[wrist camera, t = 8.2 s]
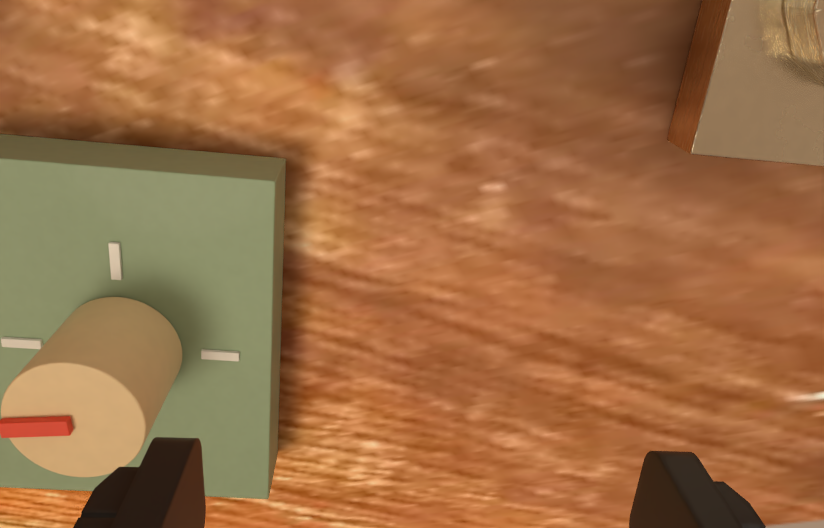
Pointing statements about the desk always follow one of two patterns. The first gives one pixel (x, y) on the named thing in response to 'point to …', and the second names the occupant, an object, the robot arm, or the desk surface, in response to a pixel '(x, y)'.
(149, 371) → the knob
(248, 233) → the panel
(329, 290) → the desk surface
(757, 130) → the button box
